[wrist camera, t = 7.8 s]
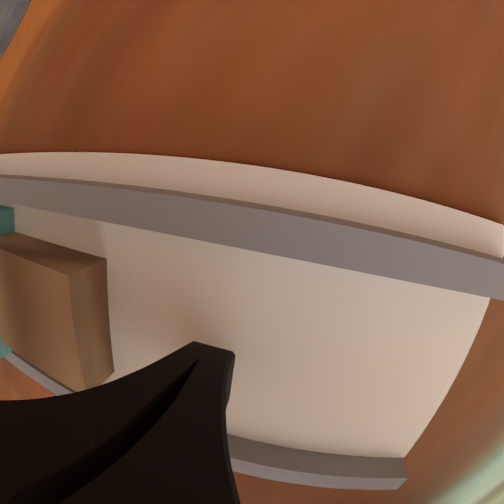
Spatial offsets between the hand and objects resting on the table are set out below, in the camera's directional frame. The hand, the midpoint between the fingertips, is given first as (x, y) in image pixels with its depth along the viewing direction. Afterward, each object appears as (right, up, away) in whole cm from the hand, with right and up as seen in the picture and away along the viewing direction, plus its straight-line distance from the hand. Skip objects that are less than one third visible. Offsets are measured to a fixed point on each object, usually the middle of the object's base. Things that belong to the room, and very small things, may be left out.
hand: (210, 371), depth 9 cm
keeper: (-7, +2, +2) cm, 7 cm away
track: (-2, +1, +2) cm, 3 cm away
